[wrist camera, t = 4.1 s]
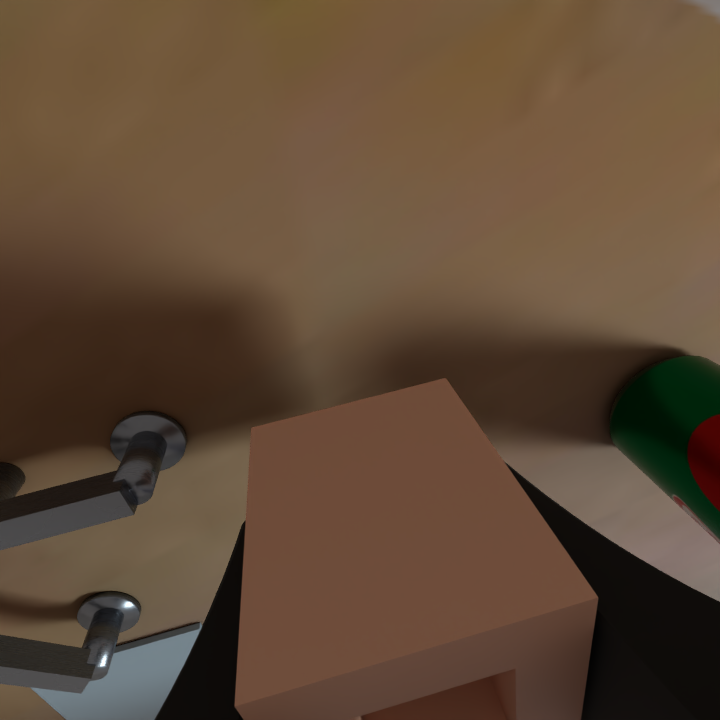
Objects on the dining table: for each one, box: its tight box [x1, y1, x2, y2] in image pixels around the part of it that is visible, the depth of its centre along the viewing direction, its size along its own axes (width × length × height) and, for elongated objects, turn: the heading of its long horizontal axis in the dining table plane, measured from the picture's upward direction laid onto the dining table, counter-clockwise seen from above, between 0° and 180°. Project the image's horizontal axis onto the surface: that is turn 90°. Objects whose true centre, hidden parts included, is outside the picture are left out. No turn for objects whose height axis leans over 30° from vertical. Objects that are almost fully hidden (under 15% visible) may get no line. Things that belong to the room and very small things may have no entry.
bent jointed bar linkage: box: [0, 411, 187, 694], centre depth 16 cm, size 10×11×3 cm
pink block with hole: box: [235, 378, 598, 720], centre depth 10 cm, size 5×5×6 cm
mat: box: [30, 623, 202, 720], centre depth 22 cm, size 8×8×1 cm
